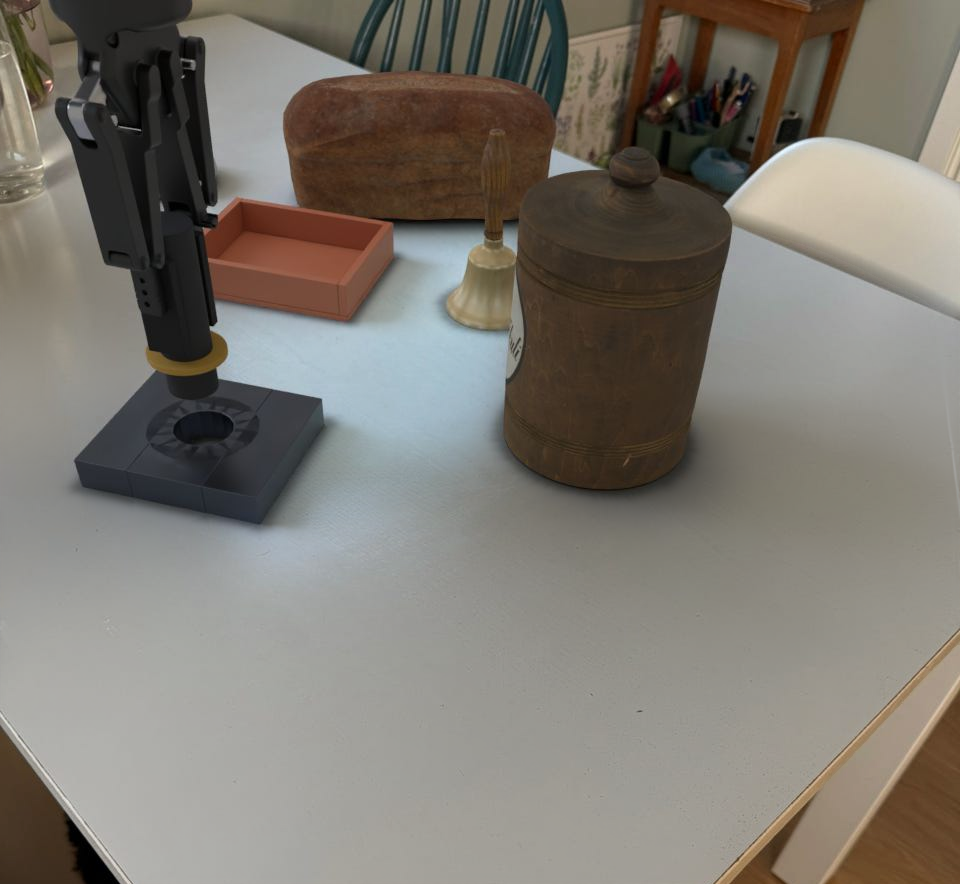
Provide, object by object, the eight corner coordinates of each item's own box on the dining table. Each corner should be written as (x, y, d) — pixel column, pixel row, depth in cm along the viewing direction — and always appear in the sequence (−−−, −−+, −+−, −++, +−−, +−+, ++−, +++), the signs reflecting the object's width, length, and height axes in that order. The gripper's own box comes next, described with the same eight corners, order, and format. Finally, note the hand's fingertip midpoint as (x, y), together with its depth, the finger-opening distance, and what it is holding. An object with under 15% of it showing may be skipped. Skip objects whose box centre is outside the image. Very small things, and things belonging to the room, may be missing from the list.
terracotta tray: (181, 292, 92) (173, 255, 90) (240, 231, 101) (236, 196, 99) (347, 322, 90) (345, 285, 87) (394, 257, 99) (393, 222, 96)
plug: (139, 399, 70) (100, 234, 61) (175, 359, 73) (144, 198, 65) (212, 414, 69) (183, 249, 60) (245, 373, 73) (222, 212, 64)
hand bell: (516, 339, 89) (531, 157, 78) (432, 319, 91) (434, 138, 79) (544, 298, 95) (562, 122, 83) (464, 280, 96) (470, 105, 85)
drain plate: (82, 487, 72) (73, 459, 70) (164, 393, 81) (158, 366, 79) (259, 525, 70) (255, 497, 68) (324, 424, 79) (322, 398, 77)
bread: (555, 231, 105) (568, 108, 96) (288, 231, 102) (275, 104, 93) (537, 178, 114) (547, 61, 105) (292, 176, 111) (281, 56, 102)
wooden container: (563, 365, 87) (597, 94, 71) (715, 427, 81) (788, 149, 65) (465, 443, 78) (477, 155, 62) (627, 517, 73) (686, 223, 57)
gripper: (91, -22, 45) (179, 411, 62) (241, -95, 56) (281, 289, 73) (-55, -43, 46) (72, 389, 63) (121, -111, 57) (188, 272, 74)
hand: (184, 335), depth 68 cm, fingers closed on plug, 4 cm apart
